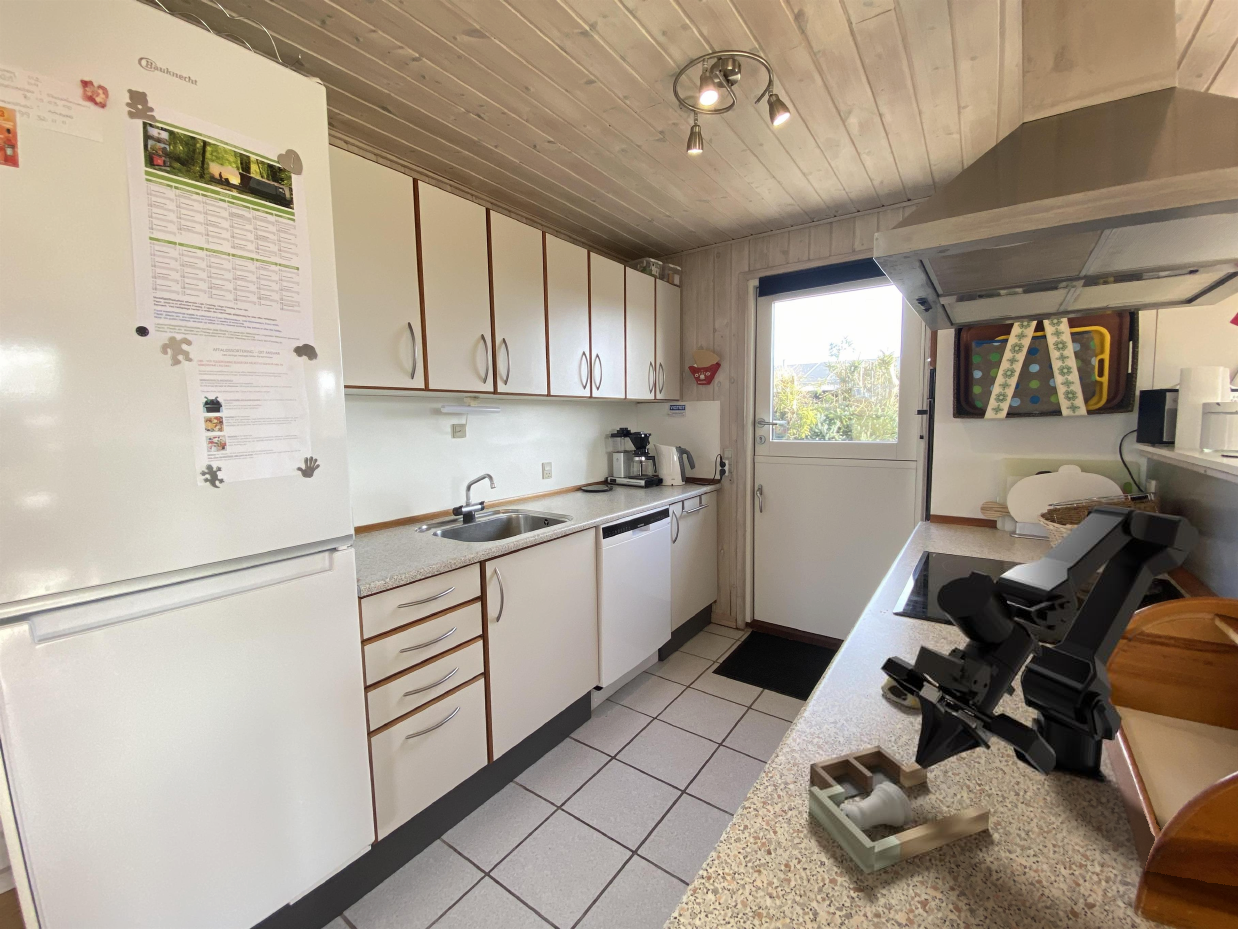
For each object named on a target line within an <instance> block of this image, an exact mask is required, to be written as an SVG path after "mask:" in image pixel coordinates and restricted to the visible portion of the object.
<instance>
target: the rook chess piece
mask: <svg viewBox="0 0 1238 929" xmlns="http://www.w3.org/2000/svg"><path fill="white" fill-rule="evenodd" d="M839 809H840V810H841V811H842V812H843V813H844V814H845V815H846V816H847V817H848V818H849V819H850V820H851V821H852V822H853V823H854V824H855V825H856V826H857V827H858V828H859V829H860V830H861V831H862V830H863V831H864V830H865V831H869V830H870V827H874V826H877V825H878V826H879V825H882V824H883V825H884V824H885V825H887V826H892V827H894V828H895V827H897V828H898V827H902V826H903V825H904V826H908V825H909V824H910V823H911V822H912V817H913V811H912V807H911V804H910V802H909V800H908V797H907V795H905V793H904V791H903V790H902V789H901V788H899V786H898V785H896V784H895V783H894V784H892V783H890V782H888V781H887V782H883V783H882V784H880V785H877V786H876V787H875V789H874V790H872V791H871V794H870V796H868V797H867V798H865V799H863V800H862V801H859V802H857V801H852V803H851V805H849V804H846V803H845V804H844V803H843V804H841V805H840V807H839Z"/></svg>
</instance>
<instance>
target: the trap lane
mask: <svg viewBox="0 0 1238 929" xmlns="http://www.w3.org/2000/svg"><path fill="white" fill-rule="evenodd" d="M928 769H929V768H927V769H923V768H922V767H920V766H919V765H918V764H917V763H916V762H912V763H909V764H904V763H903V762H901V760H899V759H898V758H896V757H895V756H894V755H893V754H891V753H890V752H889V751H888V750H886V749H885V748H883V747H882V746H880V744H879V745H875V746H871V747H867V748H863V749H860V750H857V751H854V752H853V751H852V752H849V753H847V754H842V755H839V756H835V757H832V758H828V759H824V760H821V761H816V762H814V763H810V767H809V780H810V782H811V783H812V784H813V785H814V786H811V787H809V789H808V791H809V792H808V812H809V813H810V814H811V816H813V817H814V818H815V820H816V821H817V822H818V823H819V824H820V825H821V826H822V827H823V828H824V830H825V831H827V833H829V835H830V836H831V837H832V838H833V839H834V840H835V842H836V843H838V845H839V846H840V847H841V848H842V849H843V850H844V851H845V853H846V854H848V856H849V857H851V859H852V860H853V861H854V862H855V863H856V865H858V867H859V868H860V869H861V870H862V871H863V872H864V873H865V874H866V875H868V874H871V873H874V872H876V871H879V870H881V869H883V868H886V867H889V866H891V865H895V864H897V863H899V862H902V861H905V860H908V859H910V858H913V857H916V856H918V855H921V854H924V853H926V852H929V851H931V850H933V849H937V848H939V847H942V846H944V845H948V844H949V843H952V842H955V841H958V840H961V839H963V838H966V837H969V836H972V835H974V834H977V833H980V832H982V831H984V830H987V829H989V824H990V810H989V809H988V808H987V807H986V806H984V805H983V804H978V805H976V806H973V807H970V808H967V809H964V810H961V811H958V812H955V813H953V814H950V815H947V816H944V817H941V818H939V819H936V820H933V821H930V822H927V823H925V824H921V825H919V826H916V827H913V828H910V829H908V830H904V831H902V832H899V833H896V834H894V835H890V836H888V837H885V838H883V839H879V840H876V841H873V842H872V840H871V839H870V838H869V837H868V836H867V835H866V833H864V832H863V831H862V830H860V829H859V828H858V827H857V826H856V825H855V824H854V823H853V822H852V821H851V820H850V819H849V818H848V817H847V816H846V815H845V814H844V813H843V812H842V811H841V810H840V809H839V807H840V805H841V804H843V803H844V804H846V803H845V800H846V799H849V798H853V797H855V796H858V795H863V794H865V793H870V792H871V793H872V792H873V791H874V789H875V787H876V786H877V785H880V784H882V783H883V782H887V781H888V782H890V783H892V784H894V785H895V784H897V783H900V784H901V785H903V786H904V787H905V788H910V787H913V786H917V785H919V784H922V783H926V782H927V781H928Z"/></svg>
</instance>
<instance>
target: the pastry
mask: <svg viewBox="0 0 1238 929" xmlns="http://www.w3.org/2000/svg"><path fill="white" fill-rule="evenodd" d="M930 681H931V682H932V683H933V684H934V685H936V686H938V684H937V683H936V682H934V681H933V680H930ZM880 690H881V692H882V693H883V695H884V696H885V695H886V696H885V697H886V698H887V699H889V698H890V699H889V700H891V699H892V700H891V701H893V702H896V701H897V702H896V703H898V702H899V704H901V705H903V706H905V707H908V708H912V709H921V706H920V702H919V701H918V700H917V699H916V698H914V697H912V696H911V695H909V694H907V693H906V692H904V691H903V690H902V689H900V688H899V687H898V686H897V685H896V684H895V683H894V682H893V681H892V680H891V679H890V678H889V677H887V679H886V681H885V682H884V683H883V685H881V686H880Z"/></svg>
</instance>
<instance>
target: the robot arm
mask: <svg viewBox="0 0 1238 929" xmlns="http://www.w3.org/2000/svg"><path fill="white" fill-rule="evenodd" d="M1199 532H1200V531H1199V530H1198V528H1197V527H1196V526H1195V525H1191V522H1190V521H1189V519H1187V517H1185V516H1180V515H1174V514H1173V515H1172V514H1166V513H1165V514H1164V513H1157V512H1150V511H1143V510H1142V511H1141V510H1138V509H1137V508H1129V507H1123V506H1122V507H1121V506H1115V505H1107V504H1100V505H1093V506H1091V507H1090V508H1089V509H1088V511H1087V513H1086V518H1085V519H1083V520H1082V521H1081V522H1080V523H1079V524H1078V525H1076V527H1074V528H1073V529H1072V530H1071V531H1070V532H1069V533H1068V534H1067V535H1066V536H1065V537H1063V538H1062V539H1061V540H1060V541H1059V542H1058V543H1057V544H1056V545H1055V546H1053V547H1052V548H1051V549H1050V550H1049V551H1048V552H1047V553H1046V554H1044V556H1042V557H1041V558H1040V559H1038V560H1036V561H1033V562H1031V561H1030V562H1027V563H1022V564H1018V565H1016V566H1014V567H1012V568H1010V569H1009V570H1007V571H1006V572H1005V573H1003V574H1001V575H1000V576H999V577H998V578H997V579H993V578H992V577H991V575H989V574H987V573H985V572H980V571H977V570H971V572H970V574H969V575H968V576H963V577H958V578H955V579H952V580H950V581H948V582H947V583H946V584H943V585H942V586H941V587H940V589H939V591H938V592H937V596H936V601H937V605H938V607H939V608H940V609H941V611H942V612H943V613H944V614H945V615H946V617H948V619H949V620H950V621H951V622H952V623H953V624H954V626H955V627H956V628H957V629H958V631H960V633H961V634H962V635H963V636H964V637H965V638H966V639H968V641H967V642H966V644H965V645H964V647H963V649H961V648H958V647H957V646H955V647H954V648H951V649H950V651H949V653H948V654H945V653H943V652H941V651H939V650H936V649H933V648H930V647H928V646H924V645H920V647H919V650H918V653H917V655H916V658H915V661H914V663H913V664H912V663H910V662H909V661H906V660H905V659H903V658H901V657H899V656H897V655H895V656H891V657H888V658H887V659H886V660H885V662H884V663H883V664H882V666H881V667H880V670H881V671H882V672H883V673H884V674H885V675H886V676H887V678H890V679H891V680H892V681H893V682H894V683H895V684H896V685H897V686H898V687H899V688H900V689H902V690H903V691H904V692H906V693H907V694H909V695H911V696H912V697H914V698H916V699H917V700H918V701H919V702H920V706H921V708H920V710H921V724H920V732H919V736H918V743H917V747H916V748H917V749H916V754H915V760H914V761H915V762H916V763H917V764H918V765H919V766H920V767H922V768H923V769H927V768H928V769H929V768H930V767H933V766H935V765H938V764H940V763H942V762H944V761H946V760H948V759H951V758H953V757H955V756H958V755H960V754H963V753H966V752H969V751H972V750H975V749H979V748H984V749H985V750H988V751H989V750H990V749H991V747H992V746H991V745H990V744H989V743H990V741H991V739H992V738H993V737H995V738H996V739H998V740H999V741H1002V742H1004V743H1005V744H1007V745H1009V746H1010V747H1012V748H1013V752H1014V755H1015V757H1016V759H1017V760H1018V761H1019V762H1021V763H1022V764H1024V765H1026V766H1027V767H1029V768H1030V769H1032V770H1034V771H1036V772H1037V773H1038V774H1041V775H1042V776H1043V777H1047V778H1048V777H1049V776H1050V773H1051V772H1052V771H1055V772H1060V773H1064V774H1068V775H1073V776H1075V777H1081V778H1085V779H1090V780H1094V781H1099V782H1103V783H1105V782H1106V781H1107V777H1106V776H1105V774H1104V773H1103V771H1102V769H1101V766H1102V755H1103V745H1104V744H1103V743H1104V740H1107V741H1111V742H1112V741H1115V739H1116V734H1118V733H1119V730H1120V729H1121V724H1122V720H1123V718H1122V716H1121V715H1120V714H1119V713H1120V712H1118V711H1117V710H1116V708H1115V706H1113V704H1112V703H1111V701H1110V700H1109V699H1110V696H1111V694H1112V691H1113V690H1112V686H1111V682H1110V679H1109V675H1108V674H1109V673H1108V672H1107V668H1106V667H1107V664H1108V662H1109V661H1110V658H1112V656H1113V654H1114V651H1115V650H1116V648H1117V647H1118V644H1119V643H1120V641H1121V639H1122V637H1123V634H1124V633H1125V632H1126V630H1127V627H1128V626H1129V624H1130V622H1131V620H1132V619H1133V617H1134V615H1135V613H1136V611H1137V610H1138V608H1139V605H1140V604H1141V602H1142V601H1143V599H1144V596H1145V595H1146V593H1147V592H1148V589H1149V588H1150V586H1151V584H1152V582H1153V580H1154V579H1155V578H1157V577H1158V576H1161V575H1163V574H1166V573H1168V572H1170V571H1173V570H1174V569H1178V568H1179V567H1180V566H1181V565H1182V563H1183V562H1184V561H1185V559H1186V558H1187V556H1188V555H1189V553H1191V552H1193V551H1194V550H1195V549H1196V548H1197V546H1198V543H1199V538H1200V533H1199ZM1103 566H1104V567H1103ZM1102 567H1103V569H1102V570H1101V572H1100V574H1099V576H1098V577H1097V579H1096V581H1095V582H1094V584H1093V587H1092V588H1091V590H1089V591H1090V592H1089V593H1088V594H1087V597H1086V599H1085V600H1084V602H1083V604H1082V606H1081V607H1080V609H1079V611H1078V612H1077V615H1076V616H1075V618H1074V620H1073V622H1072V624H1071V625H1070V627H1069V628H1068V630H1067V633H1066V634H1065V636H1064V637H1063V639H1062V640H1061V641H1060V643H1057V644H1055V645H1053V646H1049V645H1046V644H1044V643H1042V644H1040V641H1039V635H1038V633H1036V632H1033V631H1030V630H1028V628H1027V627H1026V626H1025V625H1024V624H1022V623H1025V624H1027V625H1031V626H1034V627H1036V628H1038V629H1039V628H1040V629H1043V630H1045V631H1051V632H1055V631H1058V630H1060V629H1061V628H1062V627H1064V626H1065V625H1067V624H1068V623H1069V622H1070V620H1071V619H1072V617H1073V615H1074V613H1075V611H1077V609H1078V608H1079V603H1078V595H1077V594H1078V593H1077V592H1078V591H1079V590H1080V589H1081V587H1082V586H1083V585H1084V584H1085V583H1086V582H1088V580H1090V578H1092V577H1093V576H1094V575H1095V574H1096V573H1097V572H1098V571H1099V570H1100V569H1101V568H1102ZM1020 622H1022V623H1020ZM1030 655H1032V657H1031V658H1030V660H1029V661H1028V662H1027V660H1028V659H1029V657H1030ZM1026 662H1027V663H1026ZM1025 663H1026V664H1025ZM1023 667H1024V669H1023V671H1022V672H1021V669H1022V668H1023ZM1020 672H1021V675H1020V686H1021V690H1022V691H1021V692H1022V695H1023V699H1024V705H1025V706H1026V707H1028V708H1031V709H1034V710H1036V711H1037V713H1036V717H1032V718H1031V725H1030V726H1029V725H1027V724H1025V723H1023V722H1021V721H1019V720H1018V719H1015V718H1013V717H1012V716H1010V715H1009V714H1008V715H1007V713H1004V712H1001V713H998V714H996V713H995V712H994V711H995V709H996V708H997V706H998V705H999V703H1000V702H1001V701H1002V698H1003V697H1004V695H1005V694H1006V695H1008V696H1010V697H1012V696H1013V695H1014V693H1015V692H1016V690H1017V689H1016V687H1014V686H1013V685H1012V683H1013V682H1014V680H1015V679H1016V678H1017V676H1018V674H1019V673H1020ZM927 676H928V677H929V678H930V679H929V678H928V677H927ZM931 681H932V682H934V683H935V684H936V685H937V686H936V685H934V684H933V683H932V682H931ZM915 762H914V763H915Z"/></svg>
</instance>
